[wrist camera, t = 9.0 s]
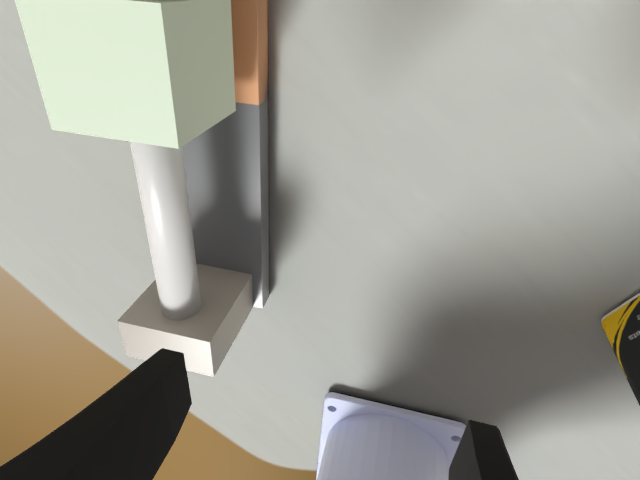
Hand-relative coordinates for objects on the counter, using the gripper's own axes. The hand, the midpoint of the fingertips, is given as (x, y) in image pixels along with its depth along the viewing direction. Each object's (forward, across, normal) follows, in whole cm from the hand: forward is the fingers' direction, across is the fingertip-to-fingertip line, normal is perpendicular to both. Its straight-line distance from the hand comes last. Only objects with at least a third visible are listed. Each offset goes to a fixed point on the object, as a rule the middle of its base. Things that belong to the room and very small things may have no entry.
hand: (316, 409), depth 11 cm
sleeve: (+7, +7, -7) cm, 12 cm away
